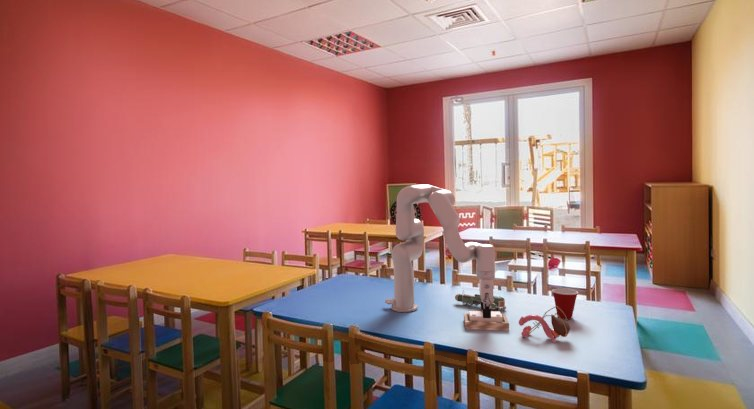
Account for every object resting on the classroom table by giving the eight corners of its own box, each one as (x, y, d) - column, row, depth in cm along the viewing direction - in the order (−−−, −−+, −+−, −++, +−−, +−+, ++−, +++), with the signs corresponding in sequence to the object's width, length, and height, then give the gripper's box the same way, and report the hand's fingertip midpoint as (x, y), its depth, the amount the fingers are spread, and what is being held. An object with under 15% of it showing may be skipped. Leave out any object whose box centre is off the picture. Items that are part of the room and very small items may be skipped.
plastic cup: (576, 314, 190) (577, 287, 190) (579, 322, 180) (580, 294, 179) (550, 312, 194) (550, 286, 193) (552, 320, 184) (552, 292, 183)
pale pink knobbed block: (499, 320, 182) (499, 310, 182) (502, 326, 176) (502, 315, 176) (468, 320, 184) (468, 310, 183) (470, 325, 177) (470, 315, 177)
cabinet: (465, 329, 176) (465, 321, 175) (464, 319, 186) (464, 312, 186) (509, 330, 173) (509, 322, 173) (505, 321, 184) (505, 313, 183)
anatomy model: (515, 319, 175) (544, 293, 169) (544, 348, 171) (576, 322, 165) (510, 329, 165) (541, 301, 159) (541, 360, 160) (575, 332, 154)
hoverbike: (502, 314, 193) (502, 296, 192) (450, 306, 206) (450, 289, 205) (508, 308, 201) (508, 291, 200) (458, 300, 214) (458, 284, 214)
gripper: (497, 279, 169) (497, 321, 170) (492, 269, 186) (492, 307, 187) (478, 279, 170) (478, 320, 171) (474, 269, 187) (475, 307, 188)
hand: (485, 313), depth 179 cm, fingers open, 9 cm apart
